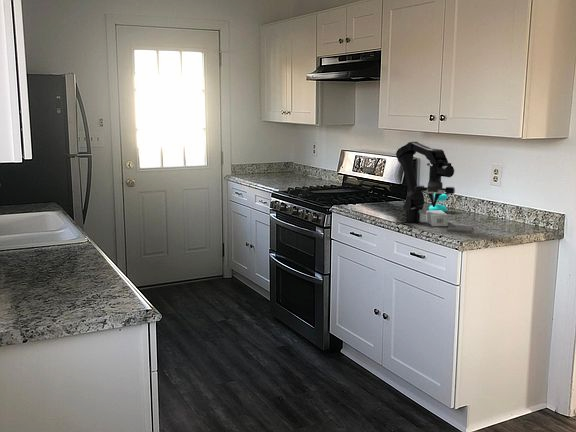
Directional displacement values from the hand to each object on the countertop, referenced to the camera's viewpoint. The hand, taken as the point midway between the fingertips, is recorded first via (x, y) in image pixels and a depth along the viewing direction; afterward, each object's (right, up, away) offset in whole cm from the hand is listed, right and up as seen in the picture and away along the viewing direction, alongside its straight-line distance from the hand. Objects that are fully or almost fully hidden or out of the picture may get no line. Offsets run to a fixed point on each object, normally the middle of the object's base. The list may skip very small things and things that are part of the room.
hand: (433, 207), depth 295 cm
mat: (+12, -11, -3) cm, 17 cm away
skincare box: (+4, -7, +2) cm, 8 cm away
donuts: (+14, -2, +48) cm, 50 cm away
